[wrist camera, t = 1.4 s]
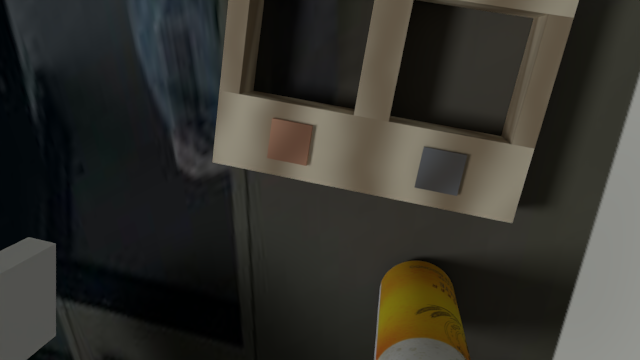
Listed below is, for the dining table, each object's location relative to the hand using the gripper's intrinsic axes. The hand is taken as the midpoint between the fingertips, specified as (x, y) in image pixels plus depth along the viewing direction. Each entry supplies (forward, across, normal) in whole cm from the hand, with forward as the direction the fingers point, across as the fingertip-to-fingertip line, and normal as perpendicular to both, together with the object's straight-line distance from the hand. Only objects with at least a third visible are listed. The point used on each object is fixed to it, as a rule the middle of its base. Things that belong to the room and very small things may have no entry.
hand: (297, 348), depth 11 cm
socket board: (+27, 0, -5) cm, 27 cm away
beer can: (+27, -6, +11) cm, 30 cm away
